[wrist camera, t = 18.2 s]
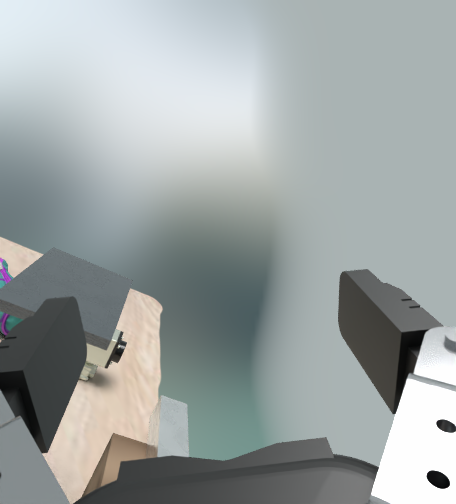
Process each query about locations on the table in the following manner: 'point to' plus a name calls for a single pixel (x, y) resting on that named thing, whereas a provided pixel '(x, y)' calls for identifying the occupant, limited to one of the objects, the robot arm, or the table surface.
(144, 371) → the table surface
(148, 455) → the aluminium bar
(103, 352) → the mini surveillance camera
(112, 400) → the table surface
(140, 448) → the block
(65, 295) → the steel stand
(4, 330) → the pencil case
